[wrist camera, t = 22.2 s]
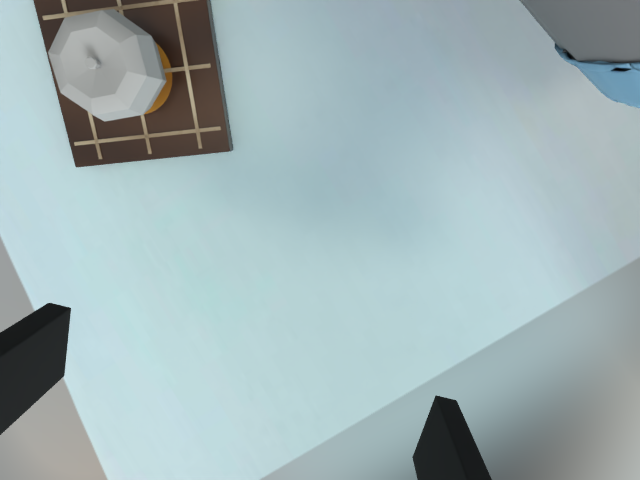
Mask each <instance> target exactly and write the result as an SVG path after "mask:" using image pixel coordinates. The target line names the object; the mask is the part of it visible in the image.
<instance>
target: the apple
mask: <svg viewBox="0 0 640 480" xmlns="http://www.w3.org/2000/svg"><path fill="white" fill-rule="evenodd" d="M48 55H49V58H50V61H51V64H52V67H53V70H54V74H55V77H56V80H57V83H58V86H59V90H60V93H62V94H63V95H64V96H66V97H67V98H69V99H70V100H72V101H73V102H75V103H76V104H78V105H79V106H81V107H82V108H84V109H85V110H87V111H88V112H89V113H91V114H92V115H94V116H96V117H97V118H99V119H101V120H103V121H104V122H105V121H111V120H116V119H122V118H128V117H133V116H139V115H143V114H144V113H146V112H147V111H148V110H149V109H150V108H151V107H152V105H153V103H154V102H155V100H156V98H157V97H158V95H159V93H160V91H161V90H162V88H163V86H164V85H165V83H166V77H165V73H164V69H163V66H162V62H161V58H160V54H159V51H158V47H157V45H156V43H155V41H154V40H153V38H152V36H151V35H149V34H148V33H147V32H145V31H144V30H142V29H141V28H140V27H138V26H137V25H135V24H134V23H133V22H131V21H130V20H128V19H127V18H126V17H124V16H123V15H121V14H120V13H119V12H117V11H116V10H114V9H110V10H100V11H95V12H90V13H85V14H81V15H76V16H71V17H66V18H64V20H63V22H62V24H61V26H60V29H59V31H58V33H57V35H56V37H55V39H54V41H53V43H52V45H51V47H50V49H49V52H48Z"/></svg>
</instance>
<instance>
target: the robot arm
mask: <svg viewBox="0 0 640 480" xmlns="http://www.w3.org/2000/svg"><path fill="white" fill-rule="evenodd" d="M520 1H521V3H522V4H523V5H524V6H525V7H526V8H527V10H528V11H529V12H530V13H531V14H532V16H533V17H534V18H535V19H536V20H537V22H538V23H539V24H540V25H541V26H542V27H543V29H544V30H545V31H546V32H547V33H548V35H549V36H550V37H551V38H552V39H553V41H554V42H555V49H556V51H557V52H558V53H559V55H560V56H561V57H562V58H563V59H564V60H565V61H567V62H569V63H570V64H572V65H574V66H576V67H578V68H579V69H580V71H581V72H582V73H583V74H584V75H585V76H586V77H587V78H588V79H589V80H590V81H591V82H592V83H593V84H594V85H595V86H596V88H597V89H598V90H599V91H600V92H601V93H603V94H604V95H605V96H606V97H608V98H610V99H611V100H613V101H616V102H620V103H625V104H627V105H629V106H634V107H636V108H640V0H520ZM70 312H71V308H69V307H65V306H61V305H56V304H52V303H48V304H46V305H44V306H43V307H41V308H40V309H38V310H36V311H35V312H33V313H32V314H30V315H28V316H27V317H25V318H23V319H22V320H21V321H19V322H17V323H15V324H14V325H12V326H11V327H9V328H7V329H6V330H4V331H2V332H1V333H0V435H1V434H2V433H3V432H4V431H5V430H6V429H7V428H8V427H9V426H10V425H12V423H14V422H15V421H16V420H17V419H18V418H19V417H20V416H21V415H22V414H23V413H25V411H27V410H28V409H29V408H30V407H31V406H32V405H33V404H34V403H35V402H36V401H38V400H39V399H40V398H41V397H42V396H43V395H44V394H45V393H46V392H47V391H48V390H49V389H50V388H52V387H53V386H54V385H55V384H56V383H57V382H58V381H59V380H60V379H61V378H62V377H64V373H65V363H66V353H67V343H68V332H69V322H70ZM413 461H414V466H415V470H416V474H417V478H418V480H492V479H491V477H490V475H489V472H488V470H487V469H486V466H485V464H484V461H483V459H482V457H481V455H480V452H479V450H478V448H477V446H476V443H475V441H474V439H473V437H472V434H471V432H470V430H469V428H468V426H467V423H466V421H465V419H464V416H463V414H462V412H461V410H460V407H459V405H458V403H457V401H456V400H452V399H448V398H444V397H440V396H435V399H434V402H433V404H432V407H431V410H430V412H429V415H428V418H427V420H426V423H425V426H424V428H423V431H422V434H421V436H420V439H419V442H418V444H417V447H416V450H415V453H414V455H413Z"/></svg>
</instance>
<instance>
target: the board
mask: <svg viewBox="0 0 640 480" xmlns="http://www.w3.org/2000/svg"><path fill="white" fill-rule="evenodd" d="M34 4H35V8H36V12H37V16H38V20H39V24H40V28H41V32H42V36H43V40H44V44H45V48H46V52H47V55H48V52H49V49H50V47H51V45H52V43H53V41H54V39H55V37H56V35H57V33H58V31H59V29H60V26H61V24H62V22H63V20H64V18H66V17H71V16H76V15H81V14H85V13H90V12H95V11H100V10H110V9H114V10H116V11H117V12H119V13H120V14H121V15H123V16H124V17H126V18H127V19H128V20H130V21H131V22H133V23H134V24H135V25H137V26H138V27H140V28H141V29H142V30H144V31H145V32H147V33H148V34H149V35H151V36H152V38H153V40H154V41H155V43H156V45H157V47H158V51H159V54H160V58H161V62H162V66H163V69H164V73H165V77H166V83H165V85H164V86H163V88H162V90H161V91H160V93H159V95H158V97H157V98H156V100H155V102H154V103H153V105H152V107H151V108H150V109H149V110H148V111H147V112H146V113H144V114H143V115H139V116H133V117H128V118H122V119H116V120H111V121H105V122H104V121H103V120H101V119H99V118H97V117H96V116H94V115H92V114H91V113H89V112H88V111H87V110H85V109H84V108H82V107H81V106H79V105H78V104H76V103H75V102H73V101H72V100H70V99H69V98H67V97H66V96H64V95H63V94H62V93H60V90H59V86H58V83H57V80H56V77H55V74H54V70H53V67H52V64H51V61H50V58H49V55H48V59H49V63H50V67H51V71H52V75H53V79H54V83H55V87H56V91H57V95H58V99H59V103H60V107H61V111H62V115H63V119H64V123H65V126H66V130H67V134H68V138H69V142H70V146H71V150H72V154H73V158H74V162H75V166H76V167H84V166H94V165H104V164H113V163H123V162H132V161H142V160H151V159H161V158H171V157H180V156H190V155H199V154H209V153H218V152H228V151H232V150H233V146H232V140H231V133H230V127H229V120H228V114H227V107H226V101H225V94H224V88H223V81H222V75H221V69H220V62H219V56H218V49H217V43H216V36H215V30H214V23H213V17H212V10H211V4H210V0H34Z"/></svg>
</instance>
